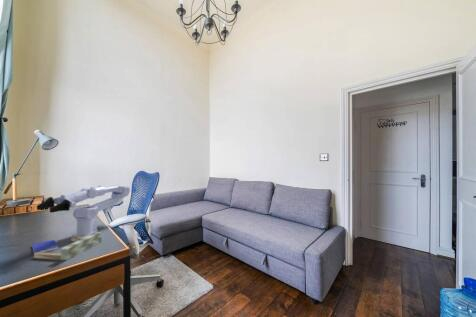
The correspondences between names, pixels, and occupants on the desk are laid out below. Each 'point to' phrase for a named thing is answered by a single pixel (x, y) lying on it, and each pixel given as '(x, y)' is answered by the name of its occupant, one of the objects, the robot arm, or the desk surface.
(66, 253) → the dock
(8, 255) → the desk surface
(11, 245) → the desk surface
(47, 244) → the hard drive
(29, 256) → the desk surface
